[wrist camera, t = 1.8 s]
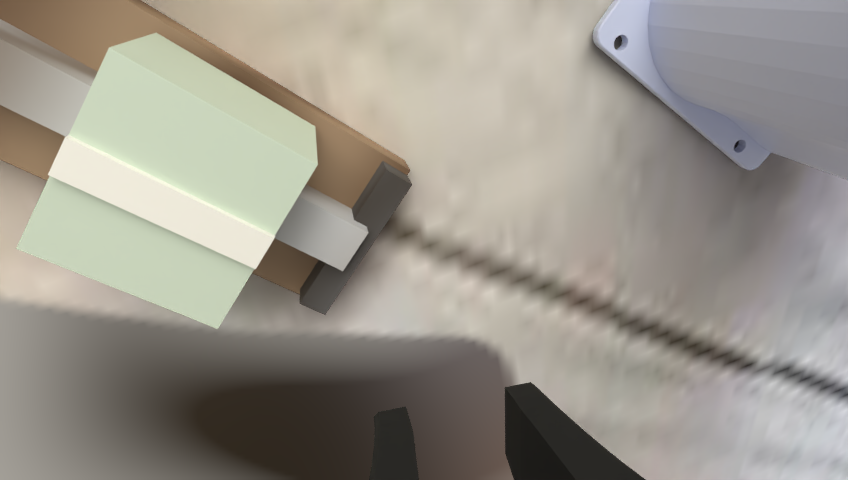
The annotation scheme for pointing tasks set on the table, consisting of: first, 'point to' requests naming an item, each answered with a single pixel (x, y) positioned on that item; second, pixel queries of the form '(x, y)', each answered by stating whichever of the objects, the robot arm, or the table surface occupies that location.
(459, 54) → the table surface
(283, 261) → the rail
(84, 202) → the carriage
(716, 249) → the table surface
